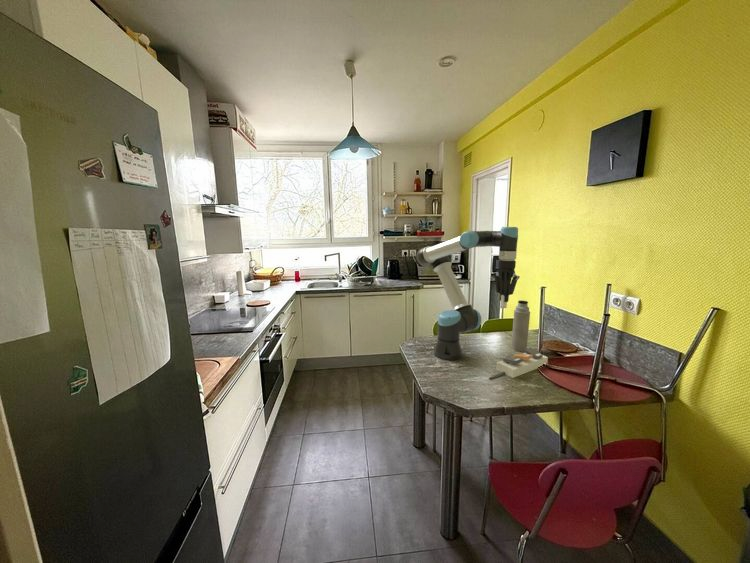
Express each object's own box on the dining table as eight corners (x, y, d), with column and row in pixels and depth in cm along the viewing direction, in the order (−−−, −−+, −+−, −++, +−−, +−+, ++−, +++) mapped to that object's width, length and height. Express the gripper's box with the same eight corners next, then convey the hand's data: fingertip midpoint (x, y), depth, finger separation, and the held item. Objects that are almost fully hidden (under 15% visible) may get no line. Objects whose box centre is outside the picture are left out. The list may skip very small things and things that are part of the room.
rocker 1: (503, 361, 142) (502, 358, 142) (509, 359, 145) (509, 356, 145) (516, 364, 136) (515, 361, 136) (522, 361, 138) (522, 358, 138)
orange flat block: (513, 358, 146) (513, 355, 146) (520, 356, 148) (519, 353, 149) (526, 359, 140) (526, 356, 140) (533, 357, 142) (532, 354, 142)
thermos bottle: (511, 345, 172) (515, 298, 167) (526, 347, 169) (530, 300, 164) (511, 350, 165) (515, 302, 160) (526, 352, 162) (531, 303, 157)
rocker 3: (523, 351, 150) (524, 349, 149) (529, 349, 152) (530, 347, 152) (536, 359, 144) (537, 356, 144) (542, 357, 147) (543, 354, 146)
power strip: (481, 375, 137) (481, 365, 136) (530, 357, 156) (531, 349, 155) (497, 383, 130) (498, 373, 129) (547, 364, 148) (548, 355, 147)
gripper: (490, 259, 143) (487, 305, 147) (514, 261, 132) (510, 312, 136) (500, 258, 147) (497, 304, 151) (524, 260, 135) (520, 310, 140)
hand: (503, 307), depth 143 cm, fingers closed
